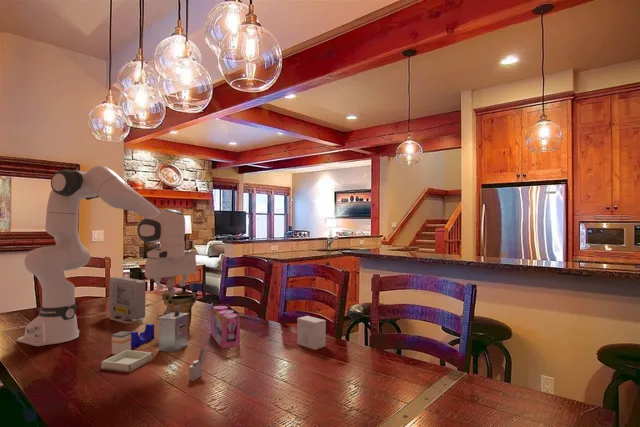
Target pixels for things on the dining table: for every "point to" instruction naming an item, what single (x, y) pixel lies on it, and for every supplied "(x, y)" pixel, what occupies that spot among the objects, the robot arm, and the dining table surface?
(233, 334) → the gum box
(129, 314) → the network device
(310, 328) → the skincare box
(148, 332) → the blue notched block
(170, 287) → the figurine
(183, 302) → the pot
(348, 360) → the dining table surface
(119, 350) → the block
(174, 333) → the box
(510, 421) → the dining table surface
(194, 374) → the lighter
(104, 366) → the parts tray
